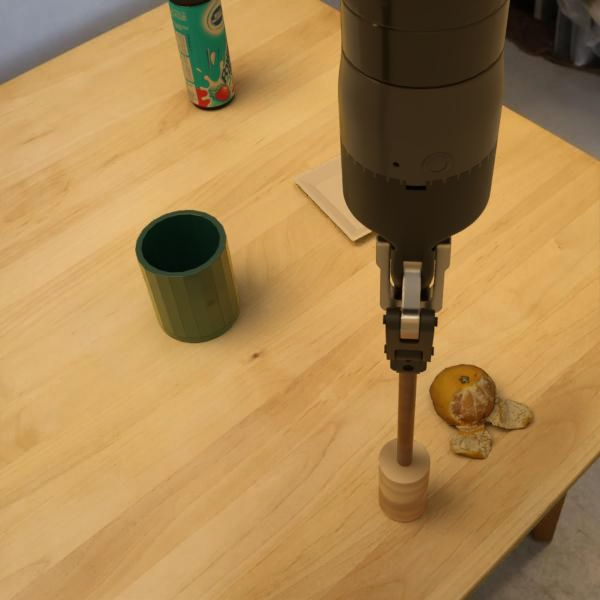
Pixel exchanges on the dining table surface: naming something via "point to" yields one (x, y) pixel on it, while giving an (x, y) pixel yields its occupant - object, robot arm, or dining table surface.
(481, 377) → the fruit
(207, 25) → the beverage can
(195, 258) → the cup
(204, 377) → the dining table surface
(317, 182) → the dessert
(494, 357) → the dining table surface
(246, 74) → the dining table surface
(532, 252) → the dining table surface
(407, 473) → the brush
